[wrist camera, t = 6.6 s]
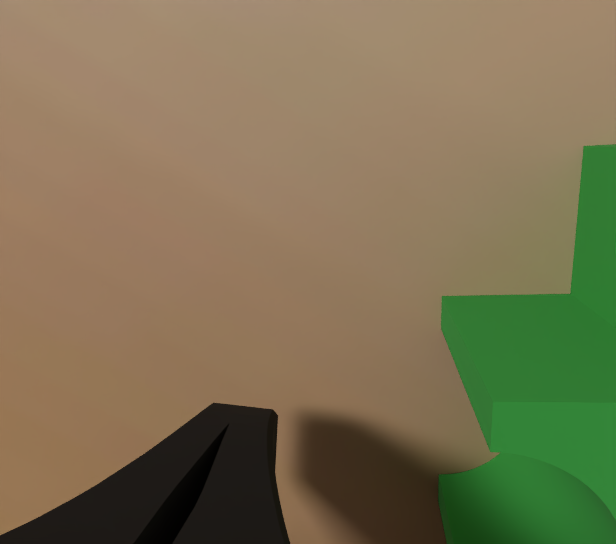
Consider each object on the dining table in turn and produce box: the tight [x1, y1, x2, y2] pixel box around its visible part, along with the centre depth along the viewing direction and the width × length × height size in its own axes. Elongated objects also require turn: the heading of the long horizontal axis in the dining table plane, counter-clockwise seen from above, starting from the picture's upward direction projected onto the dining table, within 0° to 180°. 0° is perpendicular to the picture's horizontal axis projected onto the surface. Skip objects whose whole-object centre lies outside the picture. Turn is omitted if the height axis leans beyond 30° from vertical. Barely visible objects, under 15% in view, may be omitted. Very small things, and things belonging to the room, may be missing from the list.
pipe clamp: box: [438, 144, 616, 544], centre depth 9 cm, size 11×4×5 cm, turn 3°
